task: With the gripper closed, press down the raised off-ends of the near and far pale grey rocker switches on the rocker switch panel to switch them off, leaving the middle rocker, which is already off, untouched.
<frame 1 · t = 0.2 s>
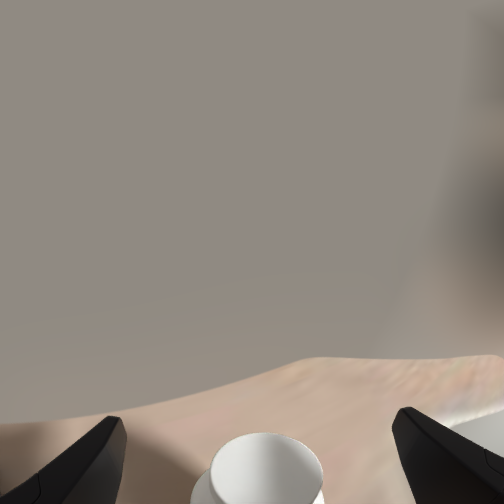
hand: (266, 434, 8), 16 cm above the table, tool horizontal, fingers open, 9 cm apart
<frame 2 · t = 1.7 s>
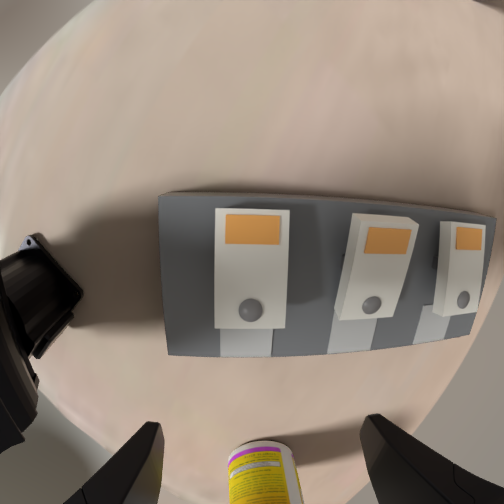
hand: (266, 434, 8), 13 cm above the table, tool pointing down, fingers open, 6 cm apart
supplement bottle: (260, 454, 26), on the table
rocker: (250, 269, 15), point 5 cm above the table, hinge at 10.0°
rocker middle: (375, 269, 16), point 5 cm above the table, hinge at -10.0°
rocker switch panel: (345, 269, 21), on the table
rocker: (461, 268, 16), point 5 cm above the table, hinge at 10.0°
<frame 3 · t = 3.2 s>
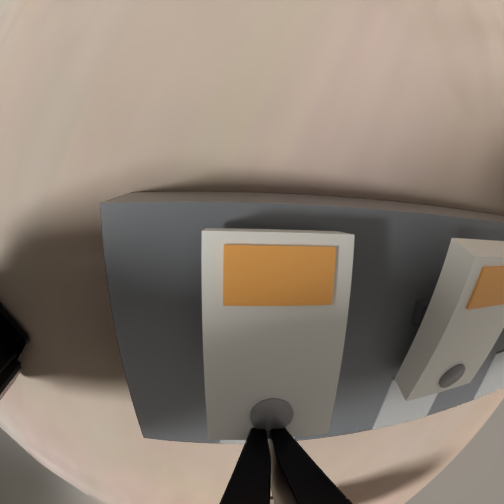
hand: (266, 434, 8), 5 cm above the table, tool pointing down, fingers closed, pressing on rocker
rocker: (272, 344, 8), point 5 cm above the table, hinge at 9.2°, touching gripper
rocker middle: (467, 325, 8), point 5 cm above the table, hinge at -10.0°
rocker switch panel: (402, 308, 13), on the table
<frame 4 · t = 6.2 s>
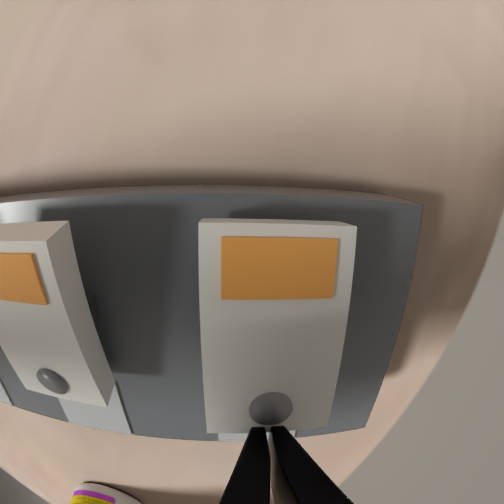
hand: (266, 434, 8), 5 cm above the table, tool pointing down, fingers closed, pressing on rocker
supplement bottle: (111, 496, 18), on the table
rocker middle: (36, 324, 7), point 5 cm above the table, hinge at -10.0°
rocker switch panel: (96, 303, 12), on the table
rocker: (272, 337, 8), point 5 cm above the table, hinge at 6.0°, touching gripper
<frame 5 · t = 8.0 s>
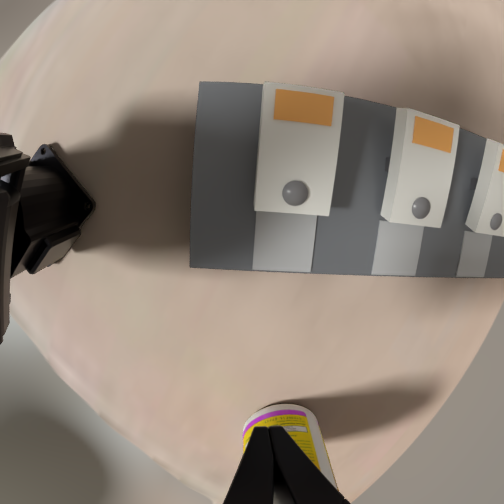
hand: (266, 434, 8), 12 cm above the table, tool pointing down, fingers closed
supplement bottle: (279, 424, 24), on the table
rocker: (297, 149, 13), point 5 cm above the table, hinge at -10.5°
rocker middle: (422, 169, 14), point 5 cm above the table, hinge at -10.0°
rocker switch panel: (383, 190, 19), on the table
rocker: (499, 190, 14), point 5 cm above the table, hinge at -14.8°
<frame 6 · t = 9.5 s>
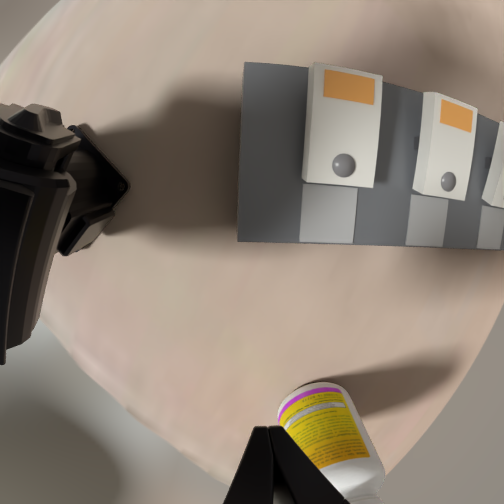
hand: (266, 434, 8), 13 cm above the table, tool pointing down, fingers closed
supplement bottle: (312, 404, 24), on the table
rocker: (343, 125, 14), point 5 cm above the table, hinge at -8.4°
rocker middle: (447, 147, 14), point 5 cm above the table, hinge at -10.0°
rocker switch panel: (408, 168, 19), on the table
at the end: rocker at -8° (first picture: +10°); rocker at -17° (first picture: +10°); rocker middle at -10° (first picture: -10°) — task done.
